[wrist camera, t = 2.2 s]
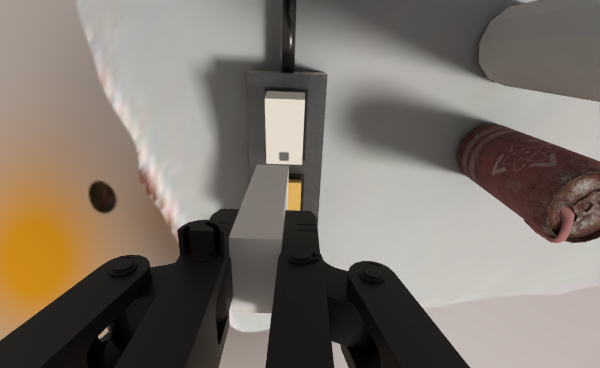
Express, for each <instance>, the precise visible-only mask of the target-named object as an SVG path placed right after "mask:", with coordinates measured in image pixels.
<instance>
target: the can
mask: <svg viewBox="0 0 600 368" xmlns="http://www.w3.org/2000/svg"><path fill="white" fill-rule="evenodd" d="M457 163H458V167H459V168H460V170H461V171H462V173H463V174H465V175H466V176H467V177H469V178H470V179H471V180H473V181H474V182H475V183H477V184H478V185H479V186H481V187H482V188H483V189H485V190H486V191H487V192H489V193H490V194H491V195H493V196H494V197H495V198H497V199H498V200H499V201H501V202H502V203H503V204H505V205H506V206H507V207H509V208H510V209H511V210H513V211H514V212H515V213H517V214H518V215H519V216H521V217H522V218H523V219H525V220H524V221H525V222H526V223H527V224H528V225H529V226H530V227H531V228H532V229H533V230H534V231H535V232H536V233H537V234H539V235H540V236H542V237H543V238H545V239H546V240H548V241H550V242H554V243H560V242H563V241H567V242H571V243H579V242H587V241H590V240H594V239H597V238H599V237H600V161H597V160H594V159H592V158H589V157H586V156H584V155H581V154H578V153H575V152H573V151H570V150H567V149H565V148H562V147H559V146H556V145H554V144H551V143H548V142H546V141H543V140H540V139H537V138H535V137H532V136H529V135H527V134H524V133H521V132H518V131H516V130H513V129H510V128H508V127H505V126H502V125H498V124H485V125H483V126H480V127H477V128H475V129H474V130H473V131H471V132H470V133H468V134H467V135H466V137H465V138H464V139H463V140H462V141H461V144H460V146H459V148H458V151H457Z"/></svg>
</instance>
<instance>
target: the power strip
mask: <svg viewBox="0 0 600 368" xmlns="http://www.w3.org/2000/svg"><path fill="white" fill-rule="evenodd" d="M295 31H296V0H283V5H282V71H279V70H250V71H247V72H246V76H247V123H248V163H249V184H250V181H251V178H252V176H253V173H254V171H255V168H256V165H283V166H289V177H288V179H291V180H301V204H300V211H311V212H312V213H313V214H314V215H315V216H316V218H317V226H318V211H319V195H320V180H321V164H322V149H323V133H324V118H325V102H326V87H327V74H326V73H324V72H305V71H294V66H295ZM267 91H278V92H304V93H305V110H304V132H303V154H302V165H292V164H266V129H265V96H266V92H267Z"/></svg>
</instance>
